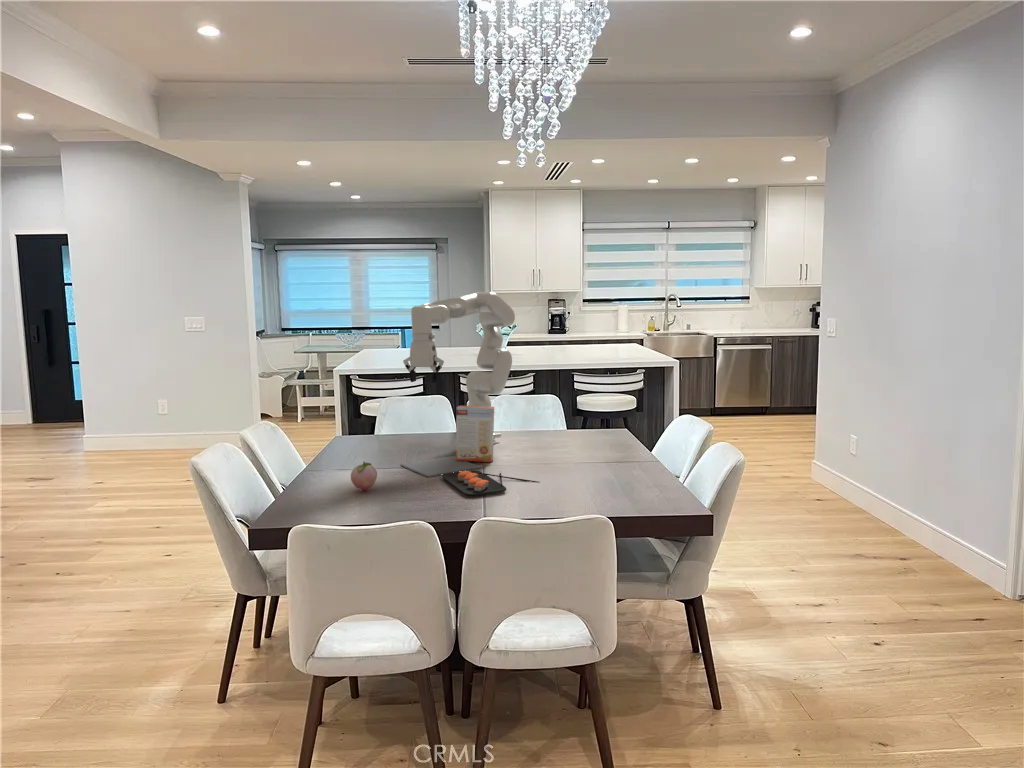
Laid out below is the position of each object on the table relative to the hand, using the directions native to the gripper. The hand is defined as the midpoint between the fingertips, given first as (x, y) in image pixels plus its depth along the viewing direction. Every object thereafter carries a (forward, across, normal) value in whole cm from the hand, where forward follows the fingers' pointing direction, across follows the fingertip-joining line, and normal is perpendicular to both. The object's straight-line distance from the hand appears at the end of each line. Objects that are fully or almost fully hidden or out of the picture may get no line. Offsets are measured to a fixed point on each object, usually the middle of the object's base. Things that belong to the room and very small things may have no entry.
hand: (424, 381), depth 273 cm
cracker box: (+30, -20, -1) cm, 36 cm away
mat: (+30, -12, +12) cm, 34 cm away
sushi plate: (+31, -40, +26) cm, 56 cm away
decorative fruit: (+30, -4, +49) cm, 58 cm away
